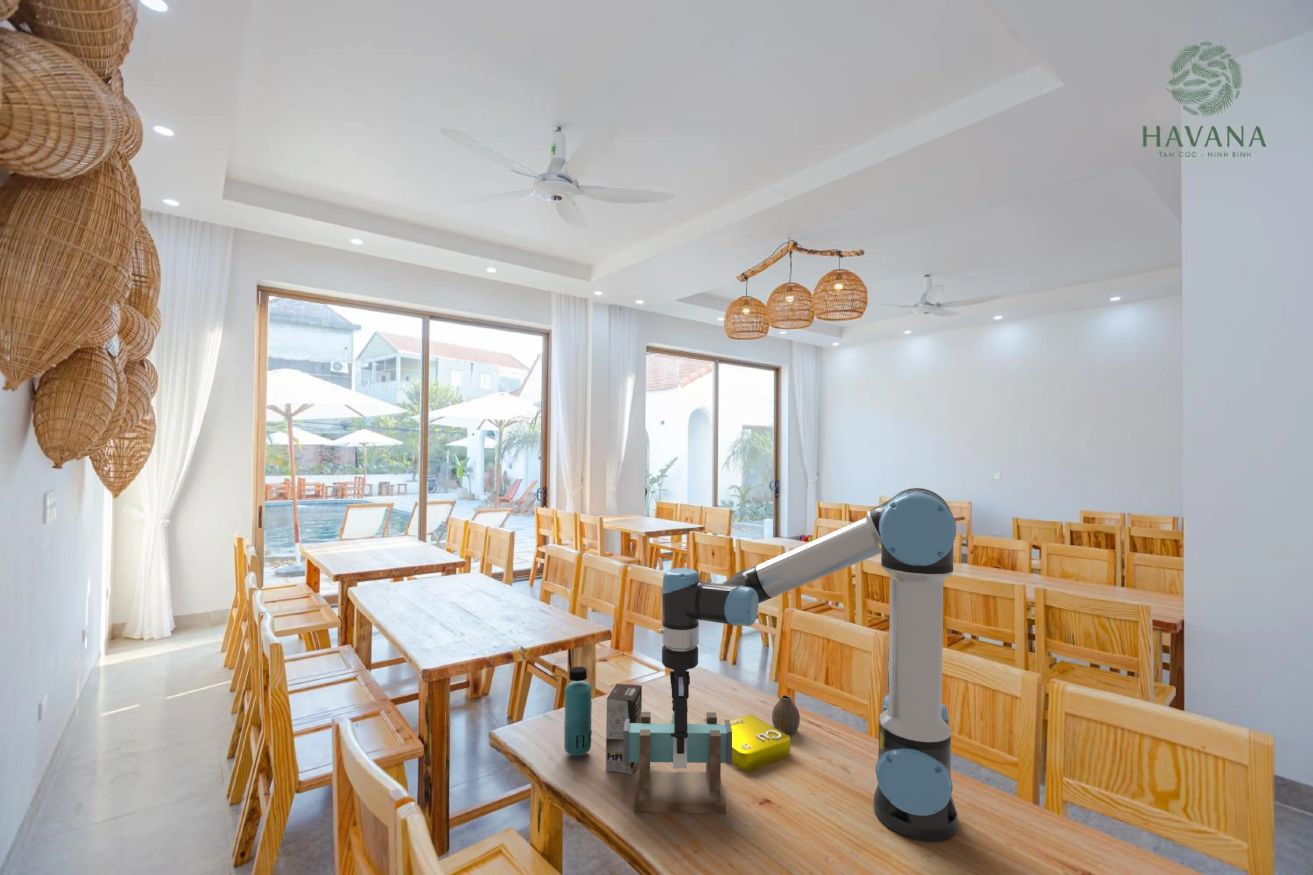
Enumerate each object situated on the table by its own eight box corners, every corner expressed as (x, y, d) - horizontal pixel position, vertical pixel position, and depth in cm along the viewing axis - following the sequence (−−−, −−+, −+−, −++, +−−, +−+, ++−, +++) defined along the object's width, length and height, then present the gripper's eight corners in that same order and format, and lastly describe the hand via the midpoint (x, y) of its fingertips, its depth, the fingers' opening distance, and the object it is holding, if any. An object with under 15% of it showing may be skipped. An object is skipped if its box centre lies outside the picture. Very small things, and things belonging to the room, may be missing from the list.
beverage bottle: (573, 765, 135) (574, 676, 136) (557, 753, 140) (558, 667, 140) (597, 755, 140) (598, 669, 140) (581, 744, 145) (582, 661, 145)
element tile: (750, 729, 154) (751, 711, 154) (794, 756, 141) (794, 735, 141) (704, 745, 145) (704, 725, 145) (745, 775, 133) (746, 753, 133)
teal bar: (729, 751, 127) (729, 719, 127) (732, 764, 121) (732, 731, 121) (624, 750, 127) (624, 718, 127) (623, 763, 122) (623, 730, 122)
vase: (803, 729, 153) (803, 695, 153) (794, 741, 147) (794, 705, 147) (777, 722, 157) (777, 689, 157) (767, 733, 151) (767, 698, 151)
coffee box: (633, 774, 132) (633, 700, 132) (604, 771, 133) (605, 698, 133) (642, 753, 141) (643, 684, 141) (615, 750, 142) (616, 682, 142)
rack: (719, 781, 130) (720, 711, 130) (725, 813, 119) (726, 736, 119) (636, 780, 130) (636, 710, 130) (634, 812, 119) (634, 735, 119)
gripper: (661, 628, 135) (660, 730, 135) (662, 664, 114) (661, 784, 113) (695, 629, 135) (694, 730, 135) (702, 664, 114) (701, 784, 113)
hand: (679, 755), depth 124 cm, fingers open, 8 cm apart
